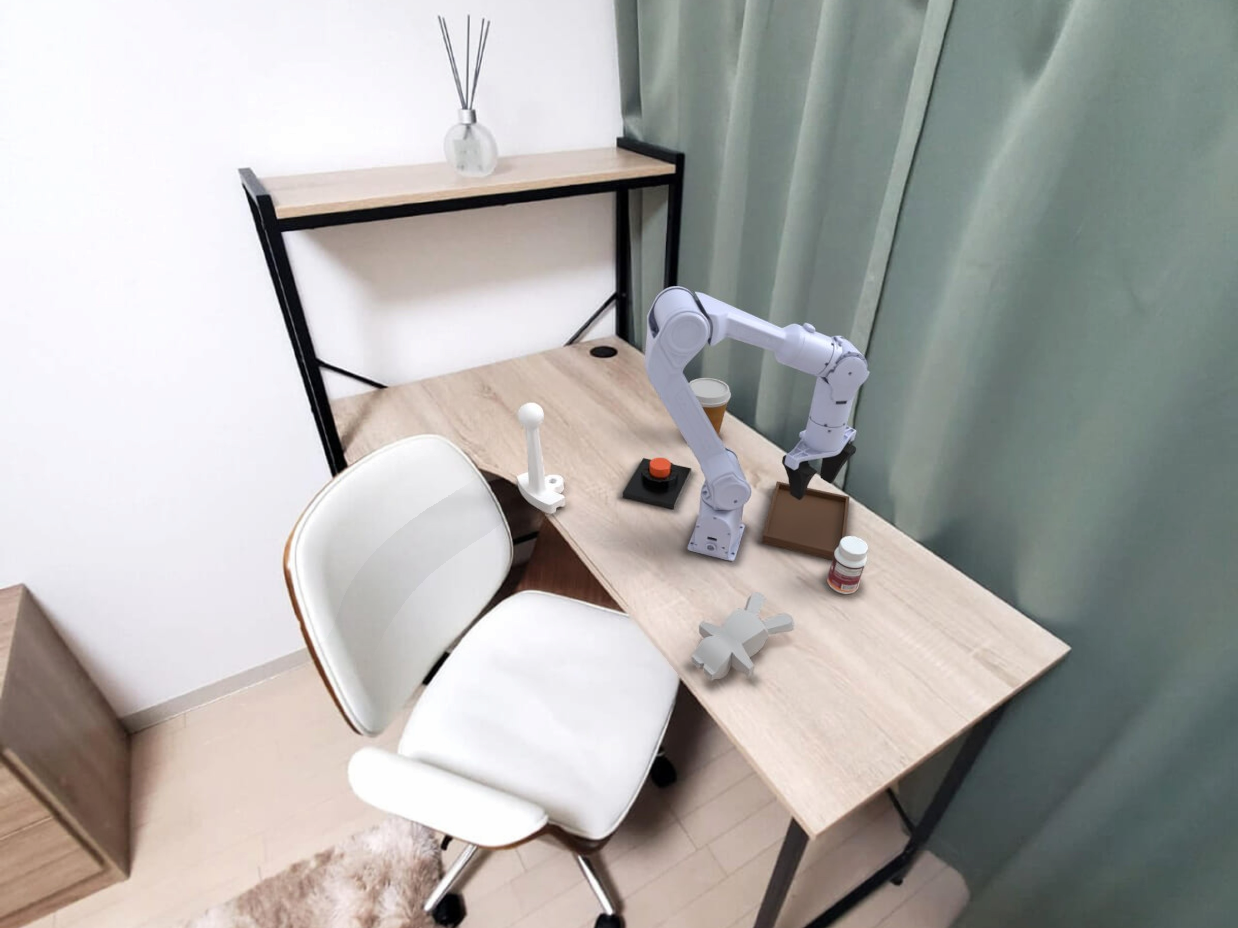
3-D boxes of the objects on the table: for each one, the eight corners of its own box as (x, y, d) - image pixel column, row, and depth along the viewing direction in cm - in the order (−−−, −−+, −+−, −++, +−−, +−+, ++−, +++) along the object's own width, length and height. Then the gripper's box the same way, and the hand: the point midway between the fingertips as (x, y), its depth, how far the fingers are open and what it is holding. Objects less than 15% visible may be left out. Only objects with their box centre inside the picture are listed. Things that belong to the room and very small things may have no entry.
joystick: (512, 488, 115) (501, 396, 104) (545, 473, 119) (537, 382, 108) (545, 517, 108) (537, 422, 97) (579, 500, 112) (575, 407, 101)
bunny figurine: (676, 635, 82) (751, 576, 89) (677, 656, 85) (749, 598, 92) (728, 683, 76) (804, 616, 83) (727, 703, 79) (800, 637, 86)
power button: (666, 479, 113) (667, 471, 112) (646, 475, 114) (646, 467, 113) (672, 468, 116) (673, 459, 115) (653, 463, 117) (653, 455, 116)
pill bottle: (833, 568, 98) (845, 529, 93) (862, 582, 96) (875, 543, 91) (821, 585, 95) (832, 546, 90) (850, 599, 93) (863, 560, 88)
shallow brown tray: (841, 562, 99) (843, 554, 98) (761, 542, 103) (762, 535, 102) (847, 504, 112) (849, 496, 110) (775, 488, 115) (777, 481, 114)
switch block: (673, 510, 110) (674, 497, 108) (622, 498, 113) (622, 485, 111) (690, 473, 119) (692, 461, 117) (643, 463, 122) (643, 451, 120)
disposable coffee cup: (674, 441, 128) (677, 392, 121) (691, 421, 135) (695, 373, 128) (716, 453, 125) (722, 403, 118) (731, 432, 132) (738, 383, 125)
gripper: (837, 394, 98) (820, 462, 106) (775, 421, 91) (763, 491, 99) (874, 412, 94) (854, 482, 101) (812, 441, 87) (796, 514, 95)
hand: (811, 488), depth 100 cm, fingers open, 7 cm apart
